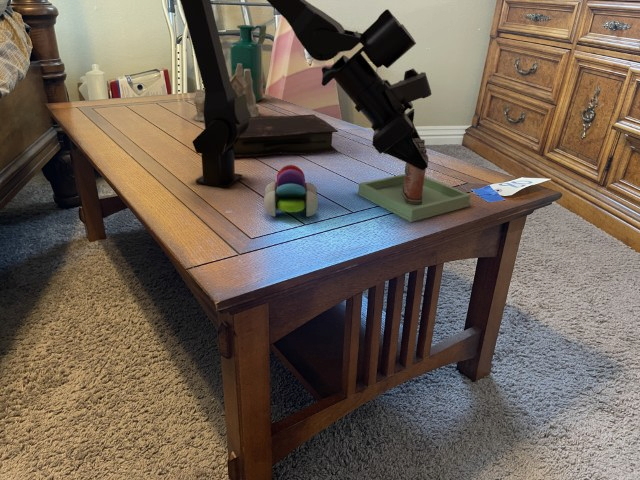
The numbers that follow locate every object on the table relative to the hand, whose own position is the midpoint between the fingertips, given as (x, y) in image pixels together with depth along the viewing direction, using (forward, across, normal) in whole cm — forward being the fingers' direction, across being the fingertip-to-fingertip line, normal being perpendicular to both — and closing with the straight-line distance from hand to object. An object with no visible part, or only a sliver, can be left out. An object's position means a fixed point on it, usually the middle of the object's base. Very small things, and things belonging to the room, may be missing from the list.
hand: (425, 160), depth 86 cm
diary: (-18, +26, +29) cm, 43 cm away
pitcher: (-31, +73, +43) cm, 90 cm away
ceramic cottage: (-30, +49, +42) cm, 71 cm away
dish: (+4, 0, +6) cm, 7 cm away
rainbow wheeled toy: (-9, -10, +20) cm, 24 cm away
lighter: (+4, 0, +6) cm, 7 cm away
